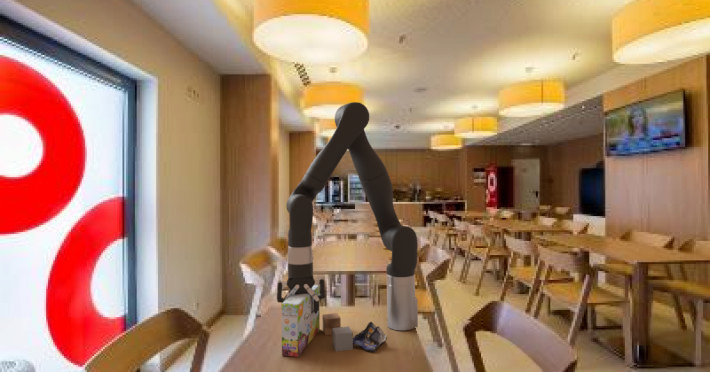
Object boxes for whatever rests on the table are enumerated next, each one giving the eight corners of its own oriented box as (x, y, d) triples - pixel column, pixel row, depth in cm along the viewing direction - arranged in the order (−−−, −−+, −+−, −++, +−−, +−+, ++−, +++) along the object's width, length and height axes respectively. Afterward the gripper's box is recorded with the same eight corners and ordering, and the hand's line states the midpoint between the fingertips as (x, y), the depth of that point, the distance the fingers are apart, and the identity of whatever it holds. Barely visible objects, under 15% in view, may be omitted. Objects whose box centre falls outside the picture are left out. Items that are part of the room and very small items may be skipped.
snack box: (300, 357, 120) (298, 304, 120) (280, 356, 121) (279, 303, 121) (321, 329, 141) (320, 283, 140) (304, 328, 142) (303, 283, 142)
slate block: (349, 342, 130) (348, 326, 130) (352, 349, 125) (352, 332, 125) (332, 344, 129) (332, 328, 129) (335, 351, 124) (335, 334, 124)
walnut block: (337, 328, 142) (337, 313, 142) (340, 333, 137) (340, 318, 137) (322, 329, 141) (322, 314, 141) (325, 335, 136) (324, 319, 136)
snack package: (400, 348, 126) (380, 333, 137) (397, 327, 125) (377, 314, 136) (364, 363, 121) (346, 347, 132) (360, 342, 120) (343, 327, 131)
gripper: (321, 256, 135) (322, 308, 136) (275, 259, 132) (276, 312, 133) (325, 261, 128) (326, 316, 129) (277, 264, 125) (278, 320, 125)
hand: (301, 314), depth 131 cm, fingers open, 8 cm apart
